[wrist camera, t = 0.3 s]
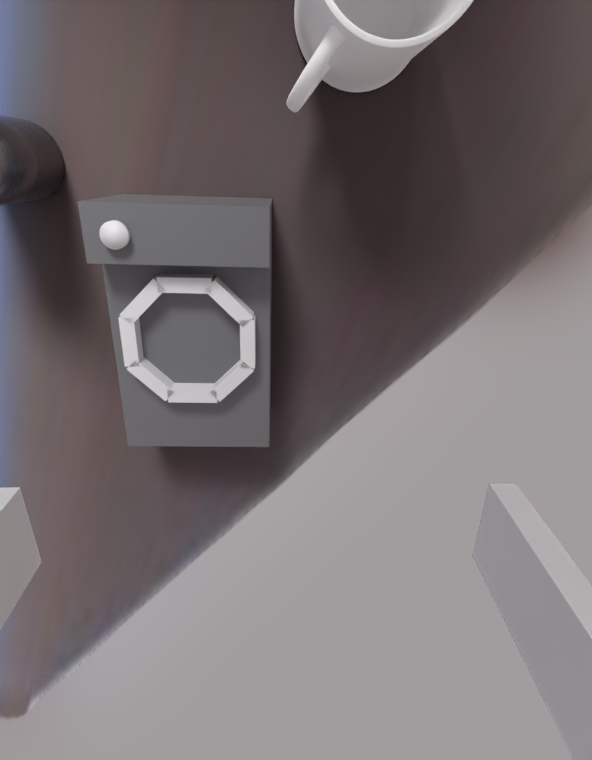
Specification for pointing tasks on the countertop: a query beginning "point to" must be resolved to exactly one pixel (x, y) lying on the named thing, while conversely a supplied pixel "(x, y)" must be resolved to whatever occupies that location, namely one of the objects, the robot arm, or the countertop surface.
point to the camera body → (187, 314)
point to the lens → (28, 162)
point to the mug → (364, 40)
